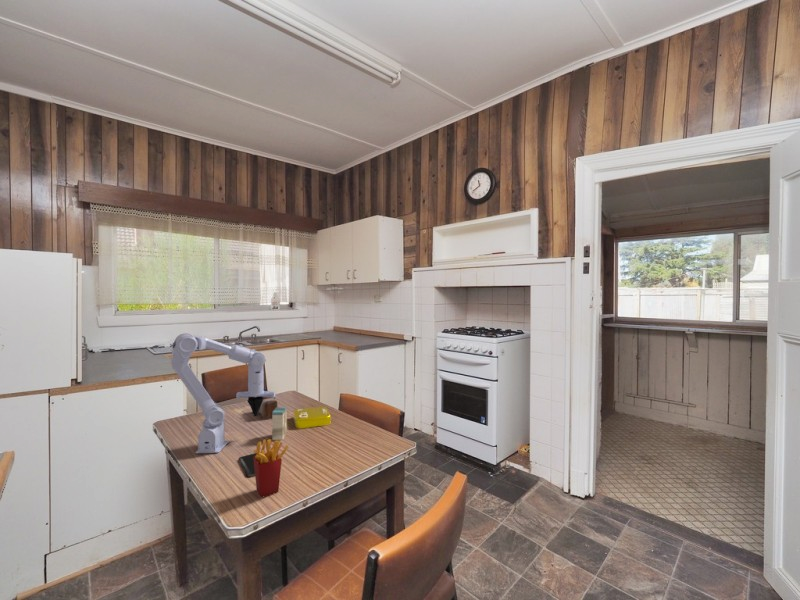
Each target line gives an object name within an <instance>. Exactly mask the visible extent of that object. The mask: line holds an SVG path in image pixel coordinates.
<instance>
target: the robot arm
mask: <svg viewBox="0 0 800 600" xmlns="http://www.w3.org/2000/svg"><path fill="white" fill-rule="evenodd" d="M171 347H172V349H171V357H170V365H171V367H172V369H173V370H174V372H175V373H176V375H177V377H179V379H180V380H181V382H182V383H183V384H184V386H185V388H187V390H188V392H189V393H190V395H191V396H192V397H193V399H194V400H195V402H196V403H197V404H198V406H199V407H200V409H201V412H202V416H203V417H204V420H203V422H202V428H201V431H200V432H199V434H198V438H197V439H198V440H197V441H198V442H197V443H198V444H197V445H198V448H197V450H196V451H195V454H218V453H220V452H221V451H222V450H223V448H224V447H225V446H226V445H228V443H229V440H225V418H226V412H225V411H224V409H222V408H221V405H220V404H219V403H217V402H215V401H214V400H213V399H212V397H211V395H210V394H209V393H208V391H207V390H206V389H205V387H204V385H203V383H202V382H201V381H200V380H199V378H198V377H197V375H196V374H195V372H194V371H193V369H192V368H191V366H190V365H189V361H190V359H191V356H192V355H193V354H194V352H196V350H197V351H202V350H205V349H208V350H211V351H215V352H218V353H222V354H225V355H227V357H228V359H229V360H233V361H236V362H240V363H243V364H248V367H247V368H248V370H247V372H248V374H247V375H248V376H247V378H248V379H247V387H248V388H247V391H238V392H236V394H235V395H236V399H242V398H243V399H244V398H245V399H247V403H248V404H249V406H250V409H251V411H252V412H251V413H252V415H253V417H258V416H259V414H260V413H259V409H260V406H261V404H262V401H263V399H264V397H271V398H274V397H275V398H276V391H270V390H264V389H265V388H264V387H265V385H264V380H265V379H264V375H265V374H264V371H265V370H264V365H265V363H266V361H267V360H266V357H265V355H264V354H263V353H262V352H261V351H260V352H259V351H257V350H256V349H254V348H249V347H245V346H244V345H243V344H241V343H239V344H233V345H231V346H230V345H227V344H224V343H223V342H219V341H216V340H214V339H211V338H208V337H206V336H200V335H195V334H194V335H192V334H191V333H187V332H183V333H180V334H179V335H177V336H176V337H175V339H174V342H173V343H172V346H171Z"/></svg>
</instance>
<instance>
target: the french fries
mask: <svg viewBox="0 0 800 600" xmlns="http://www.w3.org/2000/svg"><path fill="white" fill-rule="evenodd" d="M280 441H281V440H273V443H272V439H271V438H270V439H263V441H257V445H256V449H254V450H253V453H256V456H254V457H253V459H254V469H255V477H254V478H255V486H256V491H258V492H257V494H258V495H259V498H261V497H262V498H264V497H263V496H265V497H267V496H266V495H268V496H271V495H274V494H273V493H275V494H277V493H276V492H278V493H279V488H280V482H281V481H280V479H281V469H282V463H283V460H282V457H283V456H284V455H285V454H286V452H287V451H288V449H289V448H290V446H288V445H286V446H285V447H284V449H283V450H282V452H281V453H280V454H278V453H279V451H280V449H281V447H282V445H283V442H280ZM261 445H262V447H261ZM271 445H272V448H271ZM265 448H266V450H265ZM260 452H261V453H260ZM270 494H271V495H270Z"/></svg>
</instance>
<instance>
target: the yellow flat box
mask: <svg viewBox="0 0 800 600" xmlns="http://www.w3.org/2000/svg"><path fill="white" fill-rule="evenodd" d="M331 416H332V415H331V412H329V409H328V408H327V406H325V405H324V406H322V405H321V406H316V407H315V406H313V407H306V408H296V409H294V410H293V422H294V425H295V429H297V430H302V429H309V428H317V426H319V427H324V426H323V425H326V426H329V424H330V425H331V424H332V421H331V420H332V417H331Z"/></svg>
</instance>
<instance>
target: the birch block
mask: <svg viewBox="0 0 800 600" xmlns="http://www.w3.org/2000/svg"><path fill="white" fill-rule="evenodd" d="M271 420H272V421H271V422H272V423H271V424H272V425H271V434H272V436H271V438H272V439H271V441H276V440H278V441H283V440H284V438H285V437H286V435H287V407H286V406H279V407H278V406H277V407H276V409H275V410H274V411H273V412H272V418H271Z"/></svg>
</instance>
